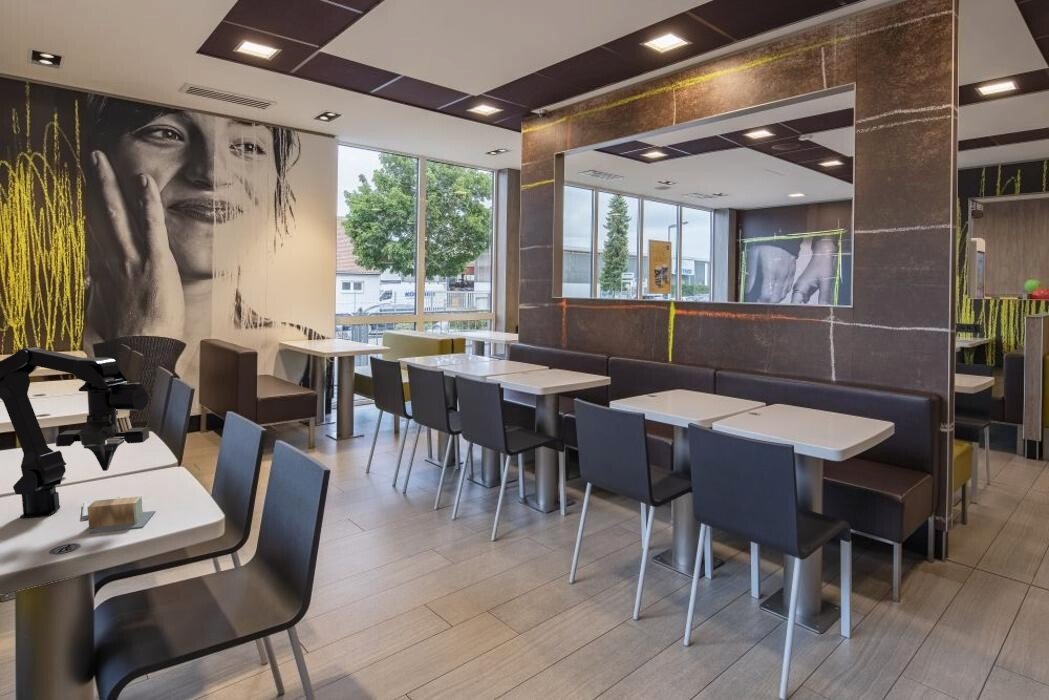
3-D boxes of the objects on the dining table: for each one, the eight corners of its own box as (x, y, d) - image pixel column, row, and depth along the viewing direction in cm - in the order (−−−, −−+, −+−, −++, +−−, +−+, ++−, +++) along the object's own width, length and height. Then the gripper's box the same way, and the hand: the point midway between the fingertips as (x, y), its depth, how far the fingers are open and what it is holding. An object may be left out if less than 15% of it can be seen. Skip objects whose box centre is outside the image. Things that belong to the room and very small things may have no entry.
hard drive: (121, 509, 158) (119, 496, 168) (81, 516, 154) (82, 501, 164) (121, 515, 158) (120, 502, 169) (82, 522, 154) (83, 508, 164)
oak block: (87, 507, 147) (135, 502, 150) (94, 500, 152) (141, 496, 155) (89, 527, 148) (137, 522, 151) (96, 520, 153) (142, 515, 156)
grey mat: (89, 533, 145) (89, 531, 145) (105, 516, 156) (105, 515, 156) (143, 527, 148) (143, 526, 148) (155, 511, 159) (155, 510, 159)
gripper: (43, 417, 144) (47, 482, 146) (134, 414, 149) (137, 477, 151) (64, 408, 155) (67, 469, 157) (148, 405, 160) (151, 464, 162)
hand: (105, 470), depth 156 cm, fingers closed
